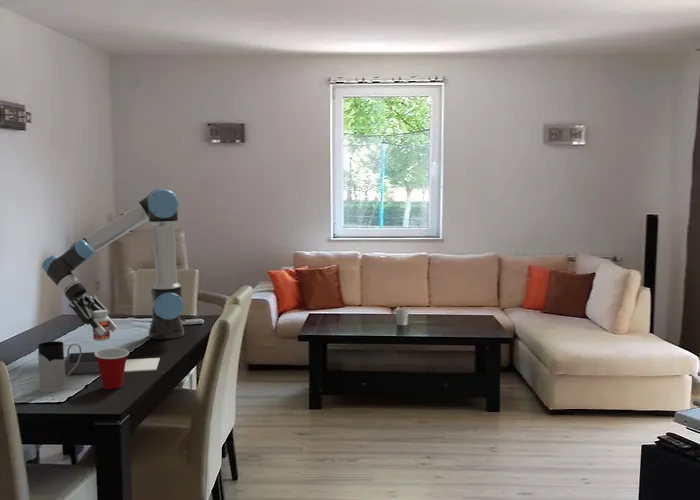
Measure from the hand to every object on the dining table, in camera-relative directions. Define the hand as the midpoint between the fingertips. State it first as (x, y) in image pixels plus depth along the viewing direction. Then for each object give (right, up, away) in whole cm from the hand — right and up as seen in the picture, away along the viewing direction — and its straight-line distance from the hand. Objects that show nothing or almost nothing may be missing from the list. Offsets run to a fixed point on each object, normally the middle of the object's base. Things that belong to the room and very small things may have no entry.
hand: (108, 331), depth 267 cm
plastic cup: (+16, -14, -41) cm, 46 cm away
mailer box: (+7, -11, -16) cm, 21 cm away
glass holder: (-2, -14, -40) cm, 42 cm away
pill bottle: (-3, -4, +2) cm, 5 cm away
